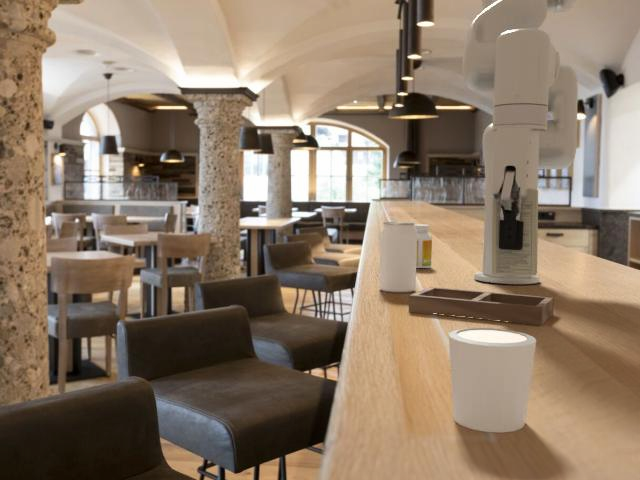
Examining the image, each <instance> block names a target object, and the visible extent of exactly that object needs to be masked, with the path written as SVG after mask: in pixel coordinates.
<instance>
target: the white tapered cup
mask: <svg viewBox="0 0 640 480" xmlns="http://www.w3.org/2000/svg"><path fill="white" fill-rule="evenodd" d="M448 342H449V343H448V344H449V345H448V347H449V359H450V362H449V363H450V375H451V376H450V377H451V378H450V379H451V394H452V396H451V397H452V411H453V419H454V422H456V423H457V424H458V425H460V426H462V427H464V428H467V429H469V430H470V429H471V430H474V431H479V432H483V433H484V432H485V433H498V434H499V433H510V432H512V433H513V432H515V431H519V430H521V429H523V428H524V426H525V425H526V417H527V410H528V403H529V396H530V391H531V390H530V388H531V383H532V382H531V381H532V376H533V375H532V373H533V367H534V361H535V354H536V346H537V339H536V338H535V337H534V336H532V335H530V334H528V333H523V332H520V331H514V330H510V329H502V328H495V327H494V328H492V327H491V328H490V327H489V328H488V327H487V328H486V327H475V328H474V327H472V328H471V327H470V328H469V327H468V328H461V329H455V330H452V331H451V332H448Z"/></svg>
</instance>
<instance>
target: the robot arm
mask: <svg viewBox="0 0 640 480" xmlns="http://www.w3.org/2000/svg"><path fill="white" fill-rule="evenodd" d="M576 1H577V0H481V5H482V10H483V11H482V12H481V13H480V14H478V15H477V16H476V17H475V18H474V19H473V20H472V22H471V23H470V25H469V27H468V29H467V31H466V33H465V38H464V44H463V55H462V64H461V65H462V66H461V67H462V69H461V70H462V79H463V81H464V83H465V85H466V87H467V88H468V89H469V90H471V91H474V92H478V93H479V92H480V93H481V92H482V93H483V92H485V93H491V99H492V104H493V105H492V107H493V108H492V123H490V124H489V125H488V126H487V127H486V128H485V129H484V131H483V135H482V140H481V141H482V142H481V143H482V154H483V163H484V179H485V181H484V184H485V185H484V187H485V188H484V189H485V190H484V212H483V214H484V216H483V217H484V219H483V220H484V221H483V243H482V246H483V247H482V266H481V267H482V271H477V272H475V273H474V274H473V275H474V276H473V278H474V279H475V280H477V281H479V282H485V283H489V282H490V283H491V284H500V285H534V284H538V283H540V281H541V279H540V275H537V274H536V275H510V274H509V275H505V274H492V197H493V198H494V199H498V198H496V197H495V194H501V201H502V202H501V212H500V226H499V248H500V249H508V250H521V249H522V247H523V224H524V221H521V218H522V207H523V200H525V199H527V198H528V197H529V193H530V190H531V189H537V190H538V185H539V184H538V183H539V182H538V181H539V170H564V169H568V168H569V167H570V166H571V165H572V164H573V163H574V161H575V159H576V153H577V143H578V142H577V140H578V139H577V137H578V136H577V134H578V97H579V93H578V89H579V88H578V87H579V85H578V79H577V75H576V72H575V70H574V69H573V67H572V66H570V65H568V64H565V63H561V59H560V58H561V56H560V52H558V51H557V50H556V47H555V46H554V45H553V43H552V42H551V38H550V35H549V34H548V33H547V32H546V31H544V30H542V29H540V27H541V26H542V25H543V23H544V22H545V20H546V18H547V16H548V14H551V13H555V14H556V13H557V14H558V13H564V12H567V11H570V10H571V9H572V8H573V6H575V4H576ZM548 116H550V117H551V119H548ZM500 189H502V193H499V191H500ZM519 189H520V193H519ZM513 194H516V195H519V198H513ZM516 206H517V209H516Z"/></svg>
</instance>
